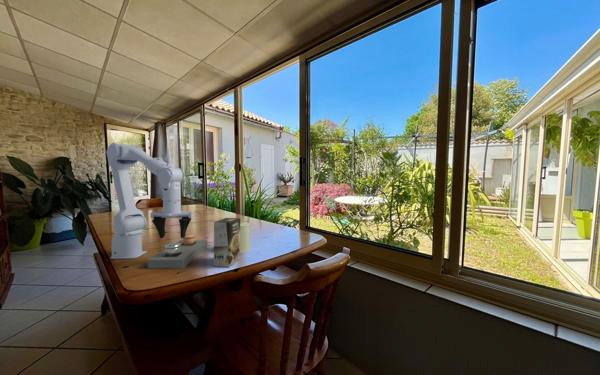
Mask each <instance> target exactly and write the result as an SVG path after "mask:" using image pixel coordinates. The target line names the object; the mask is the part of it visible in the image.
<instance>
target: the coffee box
mask: <svg viewBox="0 0 600 375" xmlns="http://www.w3.org/2000/svg"><path fill="white" fill-rule="evenodd" d="M240 222H241V218H240V217H239V218H238V217H225V218H221V219H218V220H215V221H213V266H214V267H221V268H222V267H223V268H230V267H232V266H233V265H234V264H236V263H237V262H238V261H240V260H241V253H240Z"/></svg>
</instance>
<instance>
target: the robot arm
mask: <svg viewBox="0 0 600 375" xmlns="http://www.w3.org/2000/svg"><path fill="white" fill-rule="evenodd" d="M105 154H106V156H107V162H108V165H109V167H110V169H111V173H112V179H113V183H114V188H115V192H116V198H117V202H118V206H119V207H118V208H119V211H118V212H117V213H116V214H114V216H113V225H112V226H113V230H114V232H115V234H114V236H112V239H111V256H110V259H113V260H114V259H115V260H116V259H120V260H121V259H137V258H139V257H141V256H143V255H145V254H147V253H148V251H147V250H143V235H142V234H143V232H144V230H145V229H146V228H147V225H148V222H147V219H146V217H145V216H144V212H143V210H141V209H139V208H137V206H136V205H137V204H136V201H135V196H134V191H133V187H132V181H131V177H130V173H129V170H130V168H133V167H134V165H136V163H138V162H139V163H141V164H143V165H145V166H146V169H147V170H148V171H149V172H150V173H152V174H153V175H155V176H157V177H158V181H159V182H160V186H161V188H162V207H163V209H162V211H153V212H150V214H149V215H150V219H152V220H151V222H152V223H153V225H154V227H155V229H156V231H157V233H158V235H159V239H163V238H165V236H166V229H165V228H166V222H167V221H166V219H169V218H171V219H178V222H179V227H180V238H181V239H183V238H184V237H185V234H187V230H188V227H189V224H190V222H191V221H192V219H193V218H194V212H192V211H182V201H181V200H182V194H181V193H182V191H181V189H182V188H181V185H182V184H181V183H182V182H183V181H184V179H185V172H184V171H183V169H182V168H180V167H177V166H176V167H173V166H172V164H171V163H167V162H165V161H164V159H163V158H162V157H152V156H151V155H149V154H148V153H146V151H144V150H143V148H142V147H139V146H138V145H130V144H122V143H115V142H112V143H110V144H109V145H108V147H107V150H106V153H105Z"/></svg>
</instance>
